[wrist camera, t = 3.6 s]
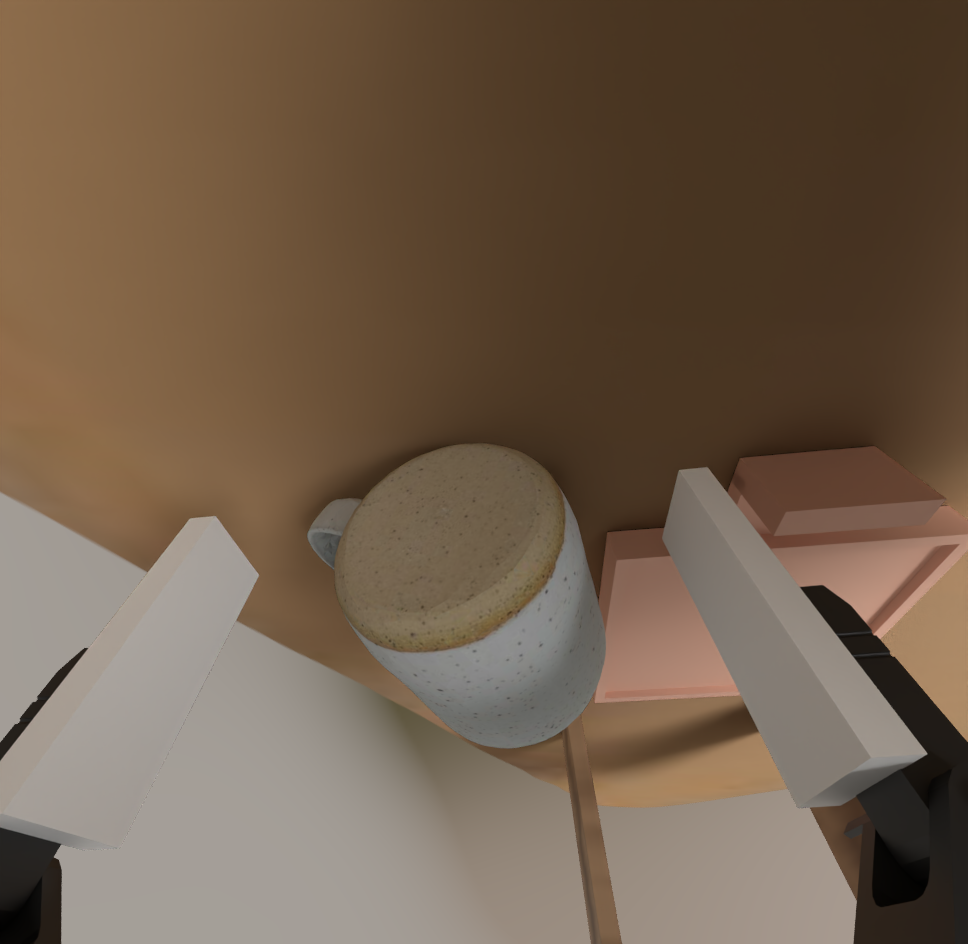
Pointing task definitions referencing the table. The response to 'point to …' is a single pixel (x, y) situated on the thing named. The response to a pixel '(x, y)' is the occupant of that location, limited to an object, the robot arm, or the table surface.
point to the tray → (801, 550)
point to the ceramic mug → (472, 590)
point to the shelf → (594, 854)
